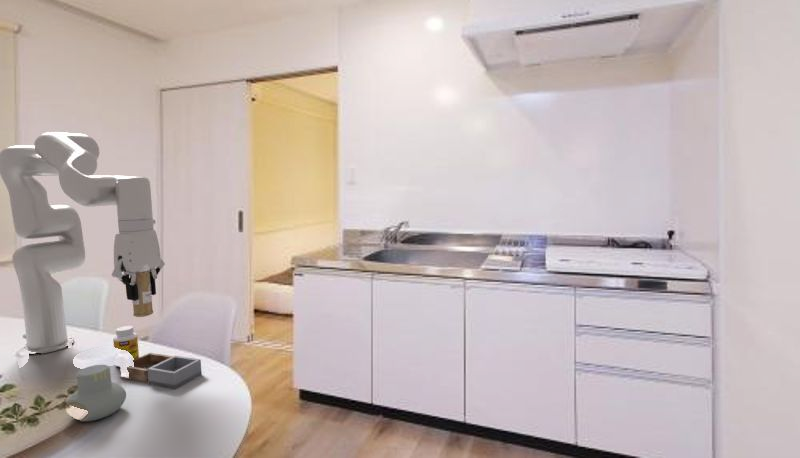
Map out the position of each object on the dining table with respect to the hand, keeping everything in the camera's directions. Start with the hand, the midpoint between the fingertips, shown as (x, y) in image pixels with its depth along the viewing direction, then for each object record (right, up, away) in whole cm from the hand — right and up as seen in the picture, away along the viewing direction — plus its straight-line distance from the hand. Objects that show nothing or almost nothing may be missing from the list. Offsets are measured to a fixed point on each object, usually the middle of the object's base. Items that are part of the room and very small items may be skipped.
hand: (141, 296), depth 113 cm
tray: (+10, -21, -2) cm, 23 cm away
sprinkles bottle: (0, -5, +1) cm, 5 cm away
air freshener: (+1, -23, -18) cm, 29 cm away
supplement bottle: (-8, -20, +8) cm, 23 cm away
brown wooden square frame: (+1, -20, +2) cm, 20 cm away
